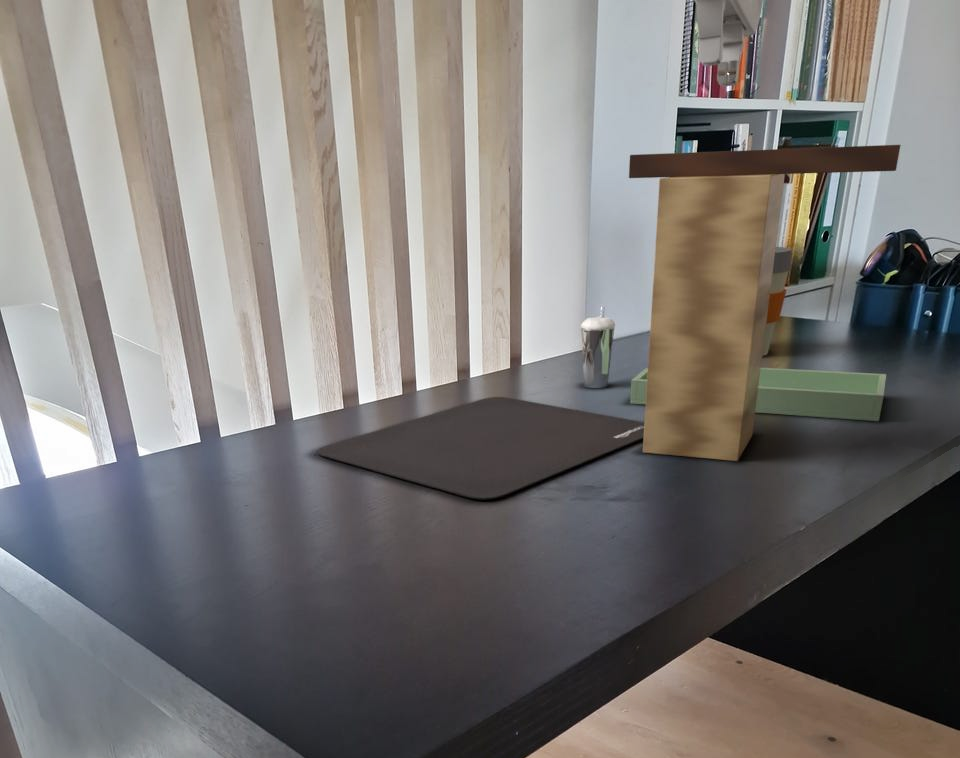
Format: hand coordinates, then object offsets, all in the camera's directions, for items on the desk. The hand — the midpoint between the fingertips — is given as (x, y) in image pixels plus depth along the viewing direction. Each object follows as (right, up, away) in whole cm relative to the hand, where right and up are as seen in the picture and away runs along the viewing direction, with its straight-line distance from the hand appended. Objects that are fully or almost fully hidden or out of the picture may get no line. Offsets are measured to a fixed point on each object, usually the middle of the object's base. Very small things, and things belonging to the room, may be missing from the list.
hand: (719, 75), depth 78 cm
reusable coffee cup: (+20, -5, +59) cm, 63 cm away
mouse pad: (-20, -29, +20) cm, 40 cm away
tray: (+14, -21, +32) cm, 40 cm away
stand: (+2, -30, +16) cm, 34 cm away
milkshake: (-5, -16, +43) cm, 46 cm away
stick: (+4, -8, +3) cm, 9 cm away
